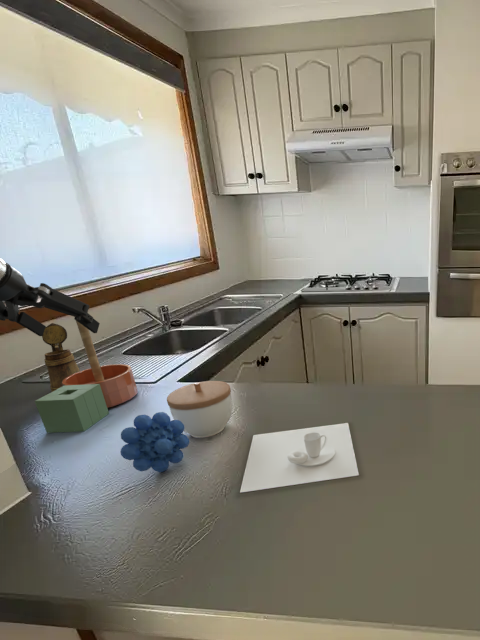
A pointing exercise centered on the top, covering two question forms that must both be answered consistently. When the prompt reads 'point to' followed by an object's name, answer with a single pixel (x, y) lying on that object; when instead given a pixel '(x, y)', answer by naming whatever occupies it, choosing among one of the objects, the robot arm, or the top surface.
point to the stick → (90, 352)
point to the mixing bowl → (108, 382)
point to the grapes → (154, 442)
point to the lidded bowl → (202, 407)
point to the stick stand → (72, 408)
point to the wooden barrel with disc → (58, 356)
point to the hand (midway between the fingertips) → (69, 329)
